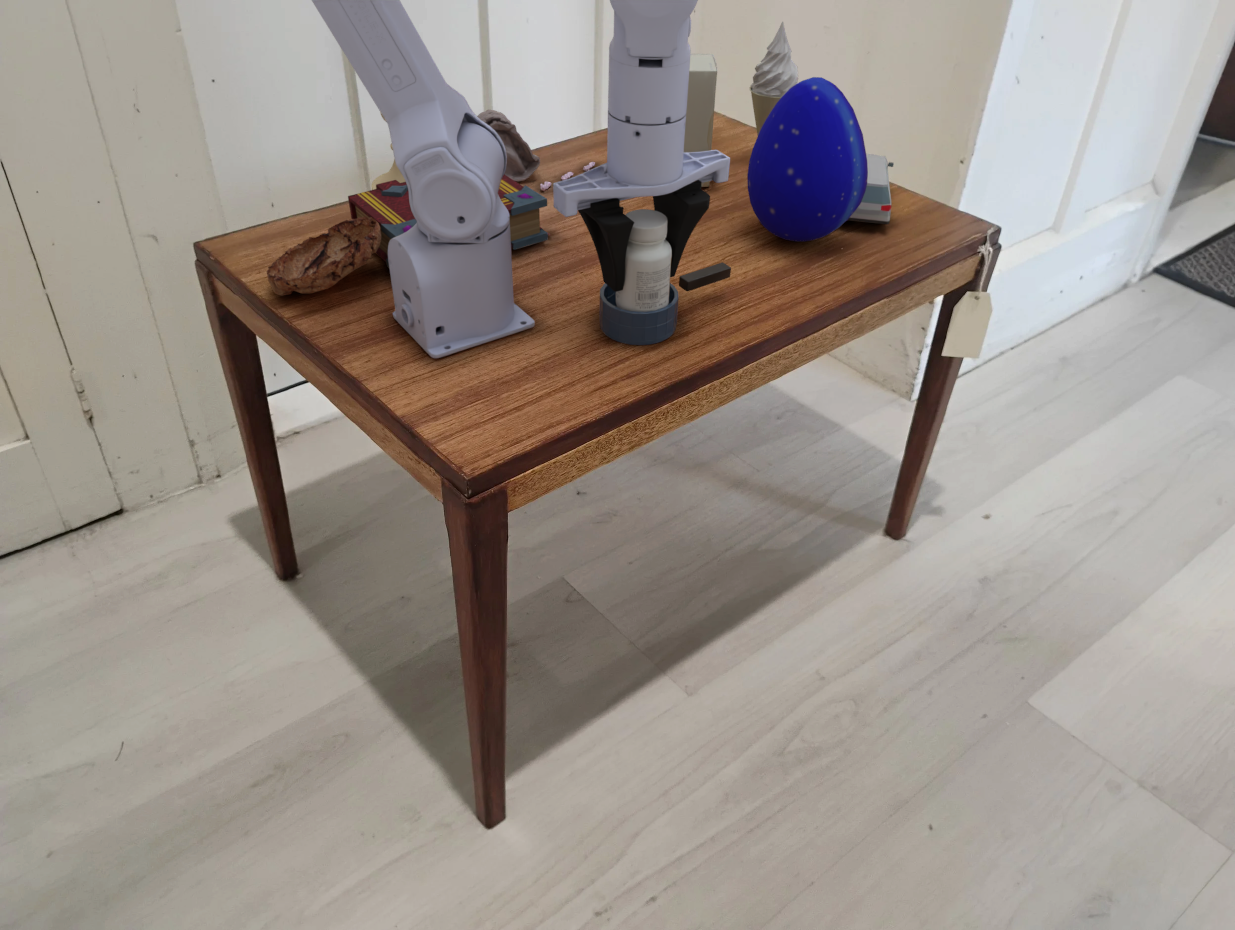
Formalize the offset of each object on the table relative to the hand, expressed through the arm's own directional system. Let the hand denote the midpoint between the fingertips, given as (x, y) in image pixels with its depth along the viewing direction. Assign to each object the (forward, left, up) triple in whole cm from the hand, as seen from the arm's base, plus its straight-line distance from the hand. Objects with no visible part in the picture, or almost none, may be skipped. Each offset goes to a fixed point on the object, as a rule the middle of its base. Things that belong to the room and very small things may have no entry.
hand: (639, 278), depth 79 cm
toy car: (+33, +7, -4) cm, 34 cm away
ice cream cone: (+32, +21, -4) cm, 39 cm away
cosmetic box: (+22, +22, -4) cm, 32 cm away
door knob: (-5, +29, +1) cm, 30 cm away
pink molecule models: (+8, +28, -4) cm, 29 cm away
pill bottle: (0, 0, -2) cm, 2 cm away
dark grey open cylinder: (0, 0, -4) cm, 4 cm away
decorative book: (-6, +22, -4) cm, 23 cm away
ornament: (+23, +5, -4) cm, 24 cm away
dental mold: (+4, +31, -1) cm, 31 cm away
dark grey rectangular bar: (+7, 0, -2) cm, 7 cm away
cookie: (-20, +20, 0) cm, 28 cm away
